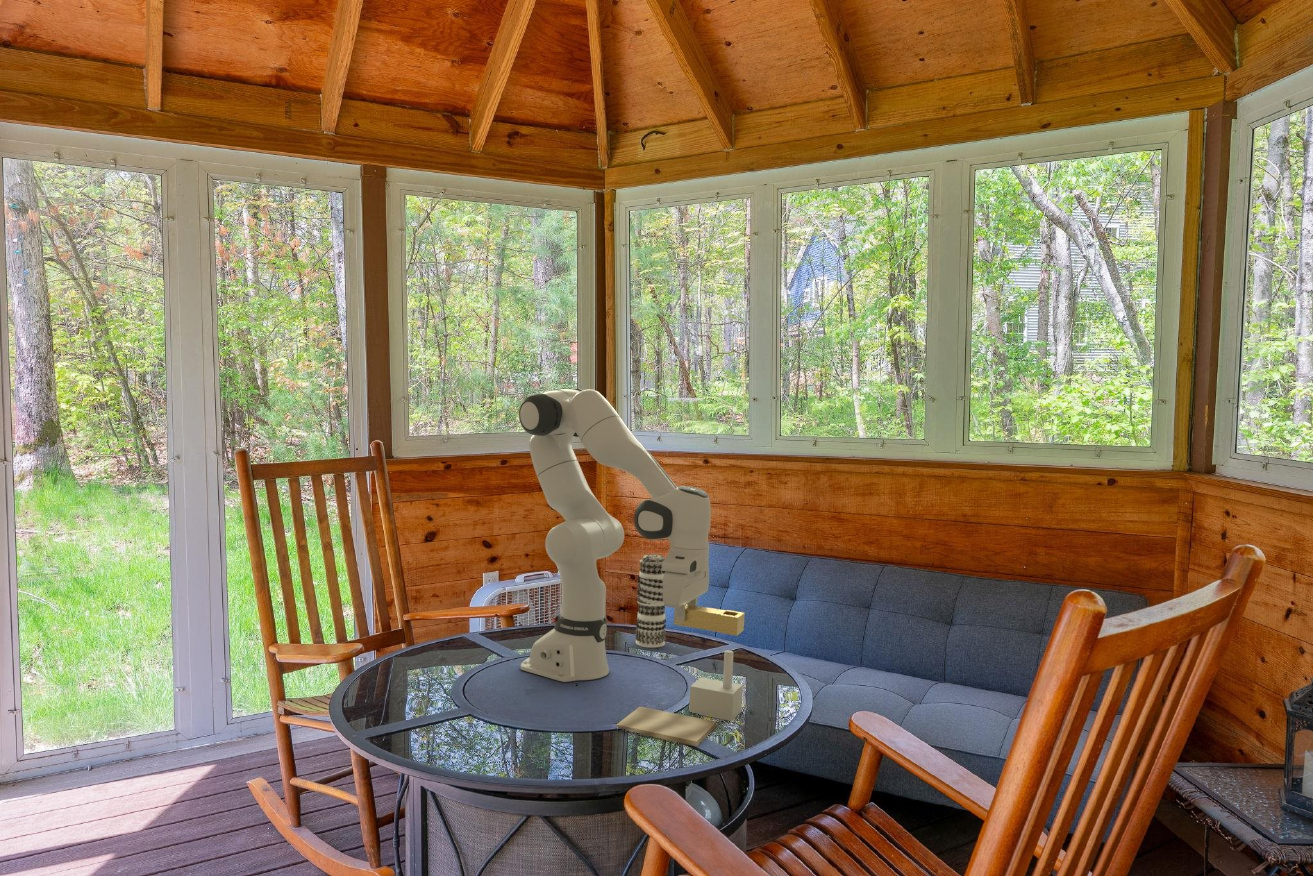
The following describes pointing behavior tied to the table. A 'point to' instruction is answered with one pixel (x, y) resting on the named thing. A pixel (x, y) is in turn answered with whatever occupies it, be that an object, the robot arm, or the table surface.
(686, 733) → the birch pad
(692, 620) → the brass hook bar
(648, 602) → the decorative candle
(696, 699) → the peg block
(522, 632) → the table surface
